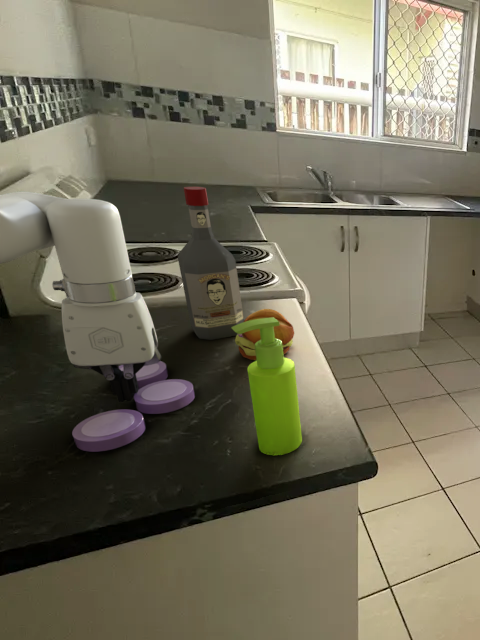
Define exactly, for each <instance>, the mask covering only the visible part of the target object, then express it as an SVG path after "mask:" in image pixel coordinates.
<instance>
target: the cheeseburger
mask: <svg viewBox="0 0 480 640" xmlns="http://www.w3.org/2000/svg"><path fill="white" fill-rule="evenodd" d="M271 317H274V318H275V319H276V320H278V321H279V325H280V326H274V335H275V338H276V339H279V340H281V341H282V345H283V354H284V355H285V354H286V353H288V351H290V347H292V345H293V343H294V341H293V338H294V336H295V329H294V326H293V324H292V323H291V322H289V321H288V320H287V318H286V317H285V316H284V315H283V314H282V313H281V312H279V311H277V310H275V309H271V308H262V309H258V310H256V311H254V312H252V313H250V314H249V315H248V316H246V318H244V322H246V321H250V320H255V319H261V318H271ZM259 340H261V336H260V329H255V330H251V331H248V332H245V333H242V334H238V335H235V339H234V342H235V345H236V346H238V351H239V353H240V355H241V356H242V357H243V358H246V359H249V360H251V361H257V359H256V352H255V343H256V342H257V341H259Z"/></svg>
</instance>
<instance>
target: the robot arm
mask: <svg viewBox="0 0 480 640" xmlns="http://www.w3.org/2000/svg"><path fill="white" fill-rule="evenodd" d="M51 247H54V248H55V252H56V255H57V259H58V263H59V267H60V272H61V274H62V279H60V280H53V281H52V284H51V285H52V289H53V290H54V291H61V292H64V294H65V296H66V297H65V298H63V299H62V300H61V323H62V325H61V326H62V332H63V337H64V344H65V350H66V354H67V357H68V360H69V362H70V363H71V364H72V366H73V367H74V368H76V369H81V370H82V369H83V370H93V371H95V372H96V373H98V374H100V375H102V376H103V377H104V379H105V380H106V381H109V384H110V387H111V392H112V395H113V396H116V399H117V402H118V403H123V402H125V401H126V402H132V400H133V399H134V394H135V393H138V390H139V387H138V383H137V378H136V373H137V372H138V371H139V370H140V369H141V368H142V367H143V366H148V365H152V364H156V363H159V362H160V361H161V360H162V355H161V353H160V351H159V349H158V347H159V341H158V336H157V331H156V327H155V325H154V322H153V318H152V316H151V313H150V311H149V308H148V306H147V303H146V301H145V299H144V297H143V295H142V294H141V292H136V286H135V282H134V278H133V273H132V272H133V271H132V268H131V262H130V258H129V252H128V247H127V242H126V238H125V233H124V229H123V223H122V219H121V214H120V212H119V210H118V208H117V206H115V205H114V204H113V203H111V202H109V201H106V200H102V199H95V198H64V197H60V196H54V195H50V194H44V193H39V192H33V191H12V192H11V191H10V192H6V193H3V194H0V264H5V263H9V262H12V261H15V260H18V259H21V258H22V257H25V256H28V255H30V254H33V253H34V252H37V251H41V250H45V249H48V248H51ZM120 365H123V370H124V372H123V371H121V370H120V368H119V366H120Z"/></svg>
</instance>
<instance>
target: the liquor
mask: <svg viewBox="0 0 480 640" xmlns="http://www.w3.org/2000/svg"><path fill="white" fill-rule="evenodd" d="M183 192H184V193H183V194H184V199H185V204H186V205H187V207H188V214H189V218H190V225H191V233H190V234H191V237H190V239H189V240H188V241H187V242H186V243H185V245H184V246H183V247H182V249H181V250H179V252H178V256H177V261H178V266H179V271H180V272H179V273H180V276H181V282H182V286H183V287H182V288H183V292H184V297H185V302H186V308H187V312H188V318H189V322H190V327H191V329H192V330H193V333H195V335H196V336H197V338H198V339H199V340H208V341H213V340H219V339H224V338H229V337H234V336H235V337H236V336H237V335H238V334H237V333H236V332H235V331H234V330H233V329H232V328H231V327H233V326H235V325H238V324H240V323H243V322H244V320H245V317H244V312H243V311H244V310H243V303H242V296H241V289H240V283H239V276H238V270H237V261H236V259H235V257H234V255H233V254H232V253H231V251H229V250H228V249H227V248H226V247H225V246H224V245H222V244H221V243H220V242H219V241H218V240H217V239H216V238H215V234H214V232H213V230H212V226H211V220H210V213H209V208H208V205H209V200H208V194H207V188H206V187H204V186H184V187H183Z"/></svg>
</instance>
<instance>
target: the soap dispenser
mask: <svg viewBox="0 0 480 640" xmlns="http://www.w3.org/2000/svg"><path fill="white" fill-rule="evenodd" d="M274 326H280V325H279V321H278V320H276V319H275V318H274V317H271V318H261V319H255V320H250V321H246V322H243V323H240V324H238V325H235V326H233V327H231V328H232V329H233V330H234V331H235V332H236V333H237V334H242V333H245V332H248V331H251V330H255V329H260V336H261V340H259V341H257V342H256V343H255V352H256V359H257V360H254V361H253V362H251V363H250V364H249V365H248V366H247V369H246V370H247V376H248V384H249V390H250V397H251V403H252V410H253V416H254V424H255V430H256V431H255V432H256V438H257V445H258V449H259V451H260V452H261V453H262V454H264V455H267V456H282V455H287V454H289V453H292V452H293V451H295V450H297V449H298V448H299V447H300V446H301V444H302V443H303V435H302V434H303V433H302V427H301V416H300V408H299V407H300V406H299V405H300V404H299V395H298V386H297V376H296V375H297V374H296V365H295V362H294V361H293V360H292V359H291V358H288V357H285V354H283V345H282V341H281V340H279V339H276V338H275V335H274Z"/></svg>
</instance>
